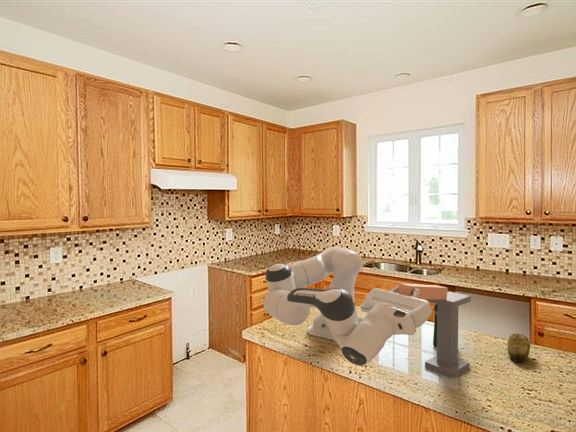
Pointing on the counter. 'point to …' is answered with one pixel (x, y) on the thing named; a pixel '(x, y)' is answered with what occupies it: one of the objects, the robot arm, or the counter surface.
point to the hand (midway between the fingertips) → (409, 288)
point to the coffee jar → (435, 326)
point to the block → (424, 291)
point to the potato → (518, 347)
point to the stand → (448, 336)
